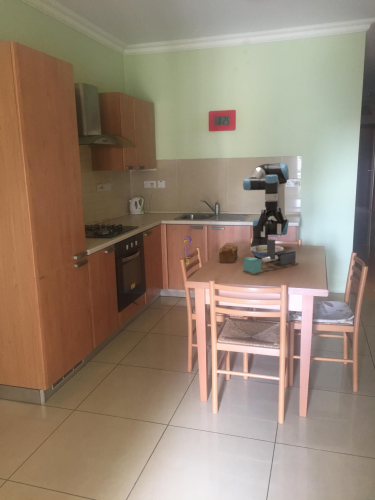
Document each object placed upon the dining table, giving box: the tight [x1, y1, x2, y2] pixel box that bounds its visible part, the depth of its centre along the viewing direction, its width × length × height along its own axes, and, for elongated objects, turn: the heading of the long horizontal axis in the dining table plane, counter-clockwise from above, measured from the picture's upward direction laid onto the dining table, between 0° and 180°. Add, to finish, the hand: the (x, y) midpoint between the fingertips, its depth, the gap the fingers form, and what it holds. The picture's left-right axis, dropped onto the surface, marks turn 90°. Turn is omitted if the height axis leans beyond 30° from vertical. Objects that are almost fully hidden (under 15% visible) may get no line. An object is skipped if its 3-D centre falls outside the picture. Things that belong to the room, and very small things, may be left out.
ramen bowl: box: [249, 243, 285, 259], centre depth 269 cm, size 25×23×8 cm
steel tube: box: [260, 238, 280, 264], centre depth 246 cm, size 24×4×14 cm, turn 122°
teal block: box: [243, 256, 262, 273], centre depth 236 cm, size 6×9×8 cm, turn 32°
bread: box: [218, 244, 238, 264], centre depth 270 cm, size 19×11×10 cm, turn 165°
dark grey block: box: [273, 249, 297, 266], centre depth 250 cm, size 13×6×8 cm, turn 122°
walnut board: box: [242, 261, 299, 276], centre depth 245 cm, size 38×9×1 cm, turn 122°
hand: (271, 235), depth 241 cm, fingers open, 13 cm apart
